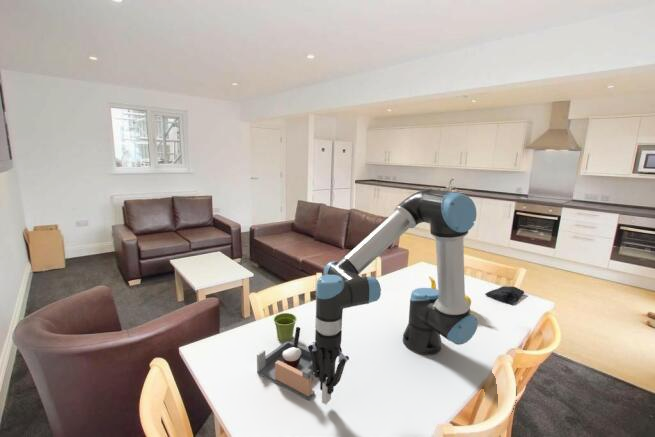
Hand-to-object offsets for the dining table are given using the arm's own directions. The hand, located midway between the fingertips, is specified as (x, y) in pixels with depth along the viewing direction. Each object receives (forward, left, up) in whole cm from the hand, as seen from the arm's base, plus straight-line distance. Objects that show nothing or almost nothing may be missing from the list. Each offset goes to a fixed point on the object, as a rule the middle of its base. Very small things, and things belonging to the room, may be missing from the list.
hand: (326, 400), depth 94 cm
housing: (+17, -7, -2) cm, 19 cm away
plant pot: (+34, -21, -3) cm, 40 cm away
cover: (+13, 0, -1) cm, 13 cm away
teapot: (-16, -87, -3) cm, 88 cm away
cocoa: (+20, -8, -2) cm, 22 cm away
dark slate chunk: (-40, -124, -3) cm, 130 cm away
